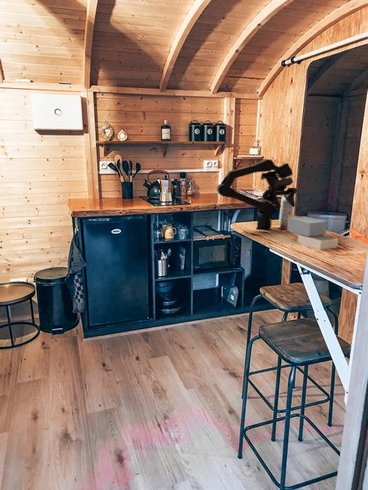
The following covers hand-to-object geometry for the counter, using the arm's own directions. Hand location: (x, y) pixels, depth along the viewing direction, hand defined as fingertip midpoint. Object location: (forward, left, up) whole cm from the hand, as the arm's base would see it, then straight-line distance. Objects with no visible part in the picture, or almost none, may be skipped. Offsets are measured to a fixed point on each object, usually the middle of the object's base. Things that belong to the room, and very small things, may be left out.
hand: (287, 207), depth 189 cm
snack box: (-4, +23, -14) cm, 27 cm away
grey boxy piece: (+9, -9, -9) cm, 16 cm away
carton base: (+17, -14, -14) cm, 26 cm away
